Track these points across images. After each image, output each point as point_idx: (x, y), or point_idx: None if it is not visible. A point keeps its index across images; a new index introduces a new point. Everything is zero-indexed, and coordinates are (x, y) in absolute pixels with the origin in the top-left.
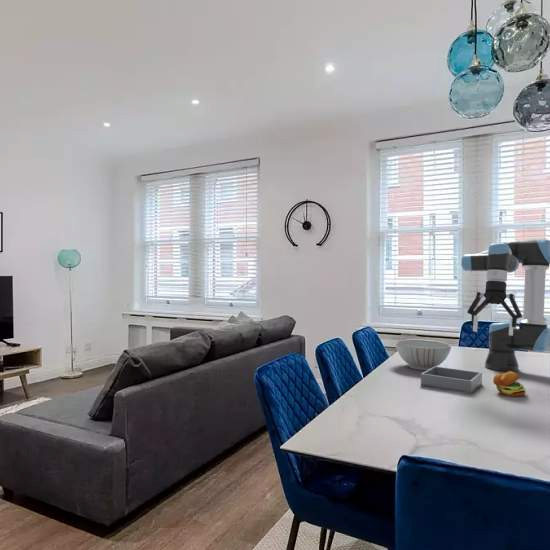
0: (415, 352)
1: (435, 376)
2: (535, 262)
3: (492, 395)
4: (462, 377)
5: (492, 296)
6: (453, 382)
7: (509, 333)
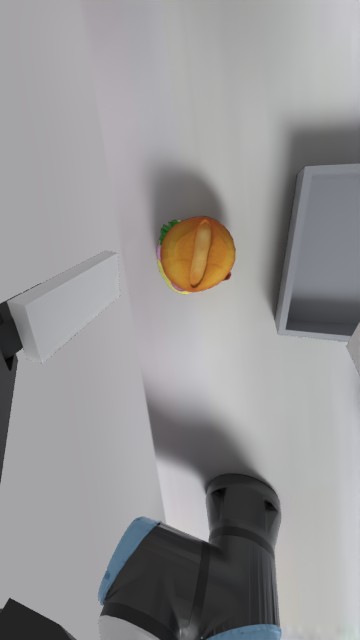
0: None
1: None
2: None
3: (235, 202)
4: (337, 326)
5: None
6: None
7: (107, 256)
